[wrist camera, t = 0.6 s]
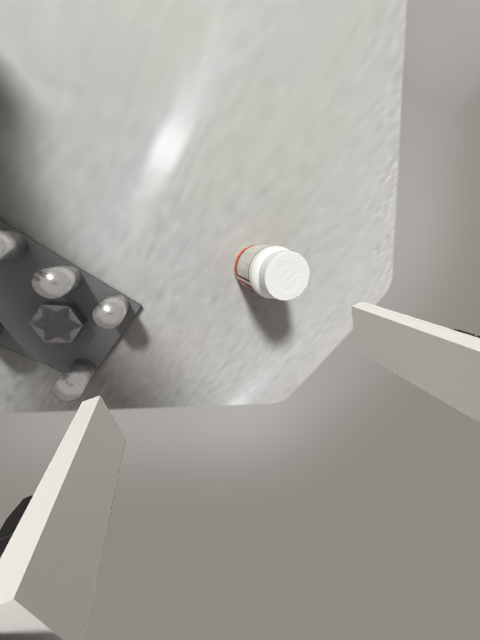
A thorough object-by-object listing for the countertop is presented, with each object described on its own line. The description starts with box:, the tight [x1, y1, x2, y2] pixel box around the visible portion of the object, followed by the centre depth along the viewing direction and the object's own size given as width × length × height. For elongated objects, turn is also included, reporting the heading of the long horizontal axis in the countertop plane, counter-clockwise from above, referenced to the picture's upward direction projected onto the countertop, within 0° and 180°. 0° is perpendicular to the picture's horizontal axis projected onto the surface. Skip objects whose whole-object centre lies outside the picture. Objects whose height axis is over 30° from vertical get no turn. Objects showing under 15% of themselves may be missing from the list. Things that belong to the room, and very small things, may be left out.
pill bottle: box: [234, 245, 309, 301], centre depth 30 cm, size 6×6×11 cm
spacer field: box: [0, 229, 129, 401], centre depth 26 cm, size 19×13×5 cm
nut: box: [29, 301, 88, 343], centre depth 29 cm, size 5×5×2 cm
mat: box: [0, 220, 141, 372], centre depth 28 cm, size 23×13×1 cm, turn 51°
